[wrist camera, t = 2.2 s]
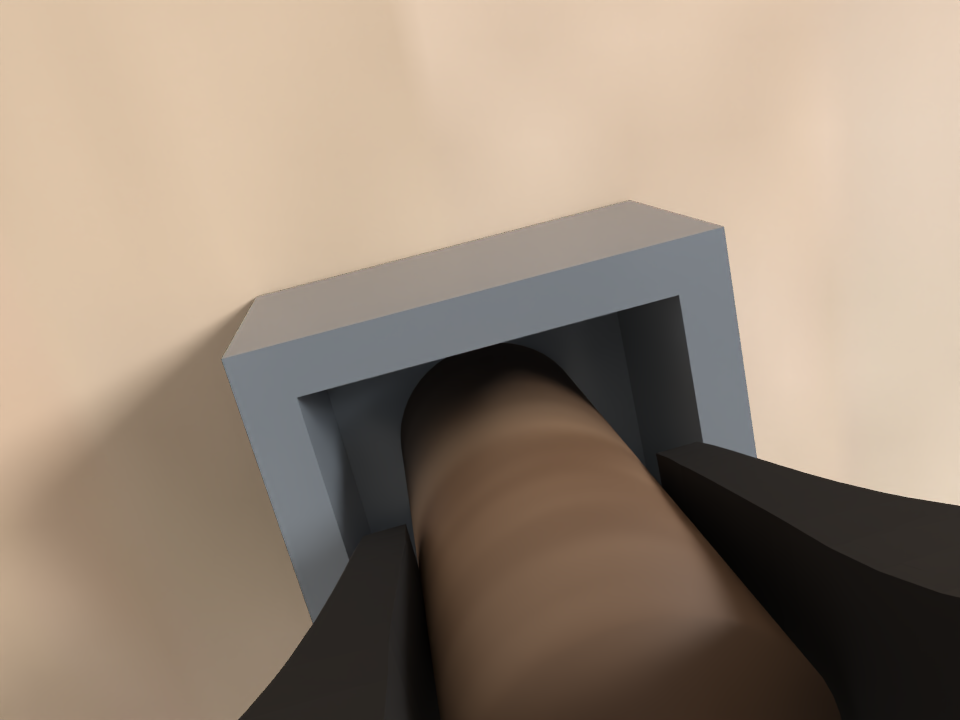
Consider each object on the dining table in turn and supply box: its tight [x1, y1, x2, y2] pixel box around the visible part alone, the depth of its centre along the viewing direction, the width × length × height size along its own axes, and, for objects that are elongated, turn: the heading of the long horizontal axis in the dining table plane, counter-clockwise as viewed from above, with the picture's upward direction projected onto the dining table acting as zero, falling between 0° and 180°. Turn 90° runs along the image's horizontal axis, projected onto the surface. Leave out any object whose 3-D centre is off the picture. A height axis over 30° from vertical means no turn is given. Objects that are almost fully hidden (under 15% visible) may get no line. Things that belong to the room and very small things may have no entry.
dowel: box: [400, 343, 841, 720], centre depth 12 cm, size 4×4×9 cm
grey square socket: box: [221, 200, 757, 623], centre depth 15 cm, size 7×7×4 cm
